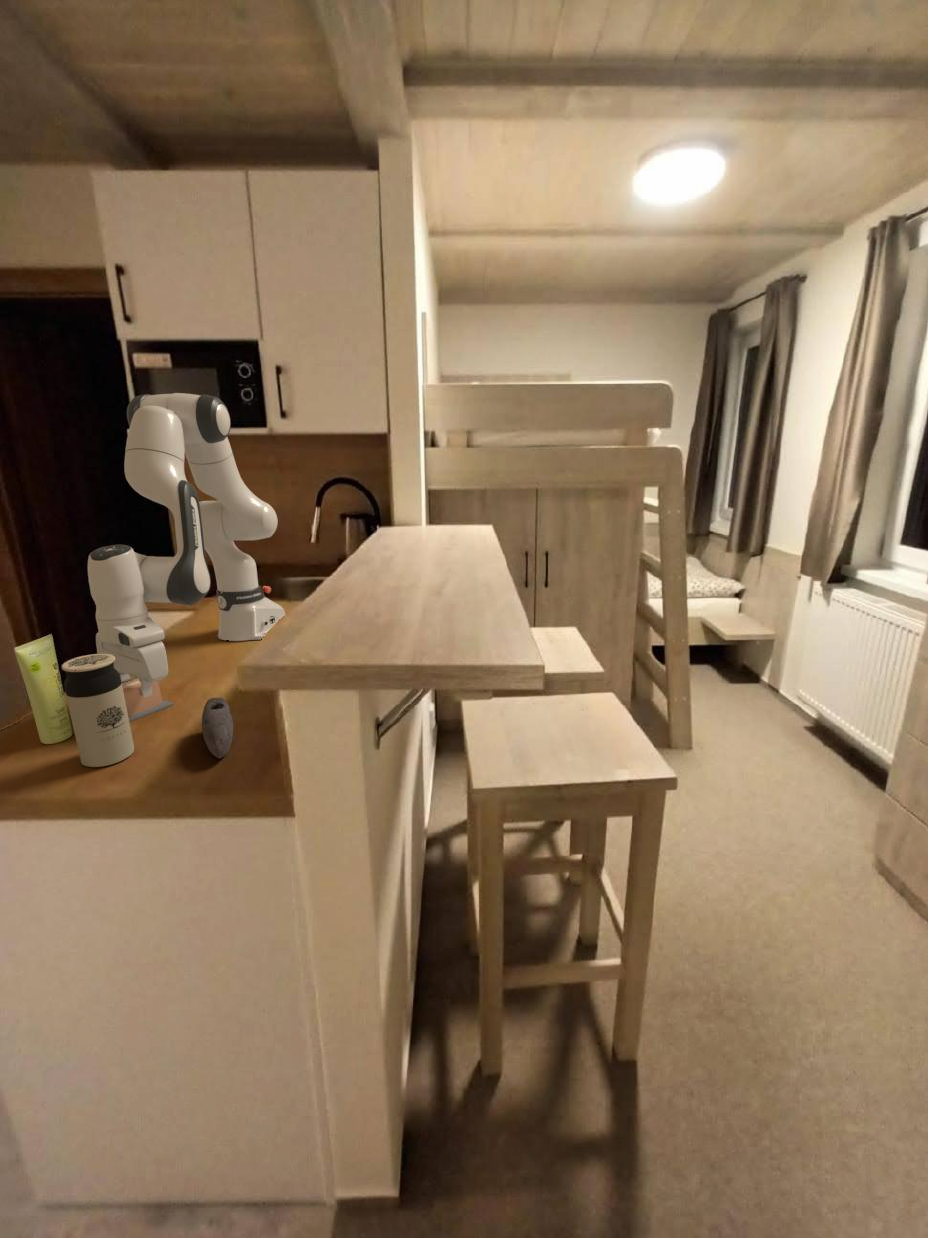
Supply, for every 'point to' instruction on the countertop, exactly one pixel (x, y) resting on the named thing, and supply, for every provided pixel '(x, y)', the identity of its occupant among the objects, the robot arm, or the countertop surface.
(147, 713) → the slate pad
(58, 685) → the tube
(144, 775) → the countertop surface
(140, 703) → the terracotta block
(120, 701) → the travel mug
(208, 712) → the perforated stone tool
